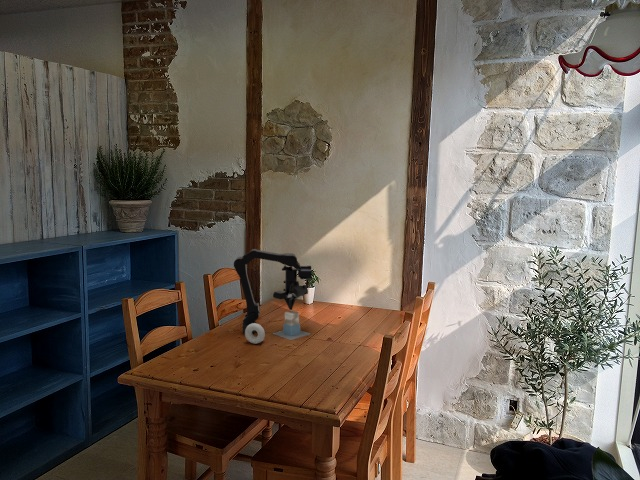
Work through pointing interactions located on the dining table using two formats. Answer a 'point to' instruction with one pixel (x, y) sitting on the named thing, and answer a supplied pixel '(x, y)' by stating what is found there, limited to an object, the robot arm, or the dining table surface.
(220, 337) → the dining table surface
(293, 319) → the top brick
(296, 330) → the bottom brick
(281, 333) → the base mat
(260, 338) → the donut
